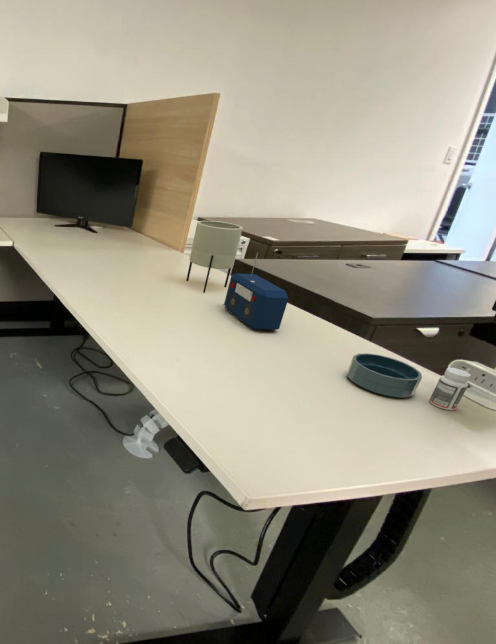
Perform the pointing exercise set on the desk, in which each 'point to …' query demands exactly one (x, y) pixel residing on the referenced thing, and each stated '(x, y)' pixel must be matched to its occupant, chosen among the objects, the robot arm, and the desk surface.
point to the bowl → (384, 375)
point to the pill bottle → (450, 389)
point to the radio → (256, 301)
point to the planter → (215, 246)
